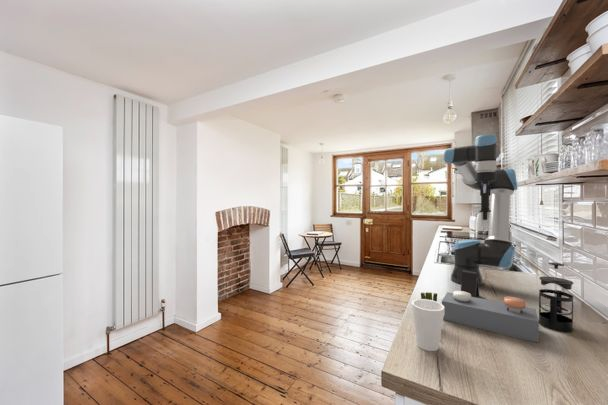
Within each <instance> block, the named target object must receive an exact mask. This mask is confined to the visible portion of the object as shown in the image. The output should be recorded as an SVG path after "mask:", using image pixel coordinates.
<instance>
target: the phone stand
mask: <svg viewBox="0 0 608 405" xmlns="http://www.w3.org/2000/svg"><path fill="white" fill-rule="evenodd" d="M460 291H464V292H468V293H470V294H471V297H476V298H480V296H481V295H480V285H479V283H478V272H473V271H467V270H463V271H462V283H461V284H460Z"/></svg>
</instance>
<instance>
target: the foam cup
mask: <svg viewBox="0 0 608 405" xmlns="http://www.w3.org/2000/svg"><path fill="white" fill-rule="evenodd" d="M411 312H412V318H413V319H412V320H413V326H414V334H415V341H416V346H418V347H419V349H422V350H423V351H428V352H436V351H438V350H439V347H440V344H441V336H442V330H443V329H442V328H443V322H444V319H443V317H444V315H445V307H444V306H443V305H442V302H441V303H440V302H439V301H437V302H436V301H433V299H432V300H427V299H421V298H417V299H413V300H412V301H411Z"/></svg>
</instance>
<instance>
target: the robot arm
mask: <svg viewBox="0 0 608 405" xmlns="http://www.w3.org/2000/svg"><path fill="white" fill-rule="evenodd" d="M497 142H498V140H497V135H496V134H494V133H488V134H482V135H477V136H476V137H475V141H474V145H465V146H456V147H450V148H449V147H448V148H446V149H445V150H444V151H443V162H444V163H445V164H451V165H452V164H453V166H454V167H455V169H456V171H457V172H458V174H459V175H460V176H461V177H460V178H461V182H462V183H463V184H465V186H467V187H469V188H471V189H474V190H476V191H477V190H478V191H479V196H480V210H479V213H480V220H481V221H480V223H481V224H480V228H488V237H487V238H485V239H484V242H483V243H482V242H480V240H479V239H461V240H456V241H455V242H454V248H453V250H454V267H453V270H452V273H451V274H450V281H452V282H454V283H456V284H460V285H461V283H462V271H463V270H467V271H473V272H478V283H479V286H482V285H483V284H484V280H483V277H482V273H481V271H480V266H487V267H494V268H498V269H499V268H500V269H511V267H512V266H513V263H514V260H515V254H516V246H514V245H513V244H512V241H511V240H510V239H509V233H510V232H509V229H510V206H511V196H512V195H513V194H515V191H517V190H518V183H517V182H518V181H517V176H516V174H517V173H516V170H515V169H513V168H500V169H498V167H497V162H498V161H497V159H498V158H499V157H500V155H501V148H500V147H499V145H497ZM473 162H474V163H473Z"/></svg>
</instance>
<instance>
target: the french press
mask: <svg viewBox="0 0 608 405" xmlns="http://www.w3.org/2000/svg"><path fill="white" fill-rule="evenodd" d="M548 265H551V266H553V268H554V270H555V272H554V274H555V275H554V276H545V275H544V276H543V275H542V276H539V280H540V284H541V285H542V286H546V285H548V284H554V289H548V288H544V289H542V288H541V289H539V290H538V291H539V292H538V308H539V309H538V320H539V325H540V326H542V327H543V328H546V329H547V330H552V331H554V332H560V333H568V334H570V333H574V332H575V329H574V295H572V294H571V293H568V292H565V291H562V290H558V289H557V286H559V287H561V288H562V289H565V290H566V291H567V290H568V291H569V290H573V289H572V287H573V286H572V285H574V282H573V281H571V280H569V279H565V278H561V277H558V276H557V273H558V269H559V266H560V267H564V266H565V264H563V263H559V262H553V261H552V262H548ZM550 294H553V295H554V296H553V295H550ZM542 297H543V298H546V299H548V300H550V301H549V302H550V303H542V301H541V300H542ZM565 302H567V303H571V309H569V308H566V307H563V303H565ZM541 309H542V310H543V311H542V310H541ZM568 316H571V318H570V317H568Z"/></svg>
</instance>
